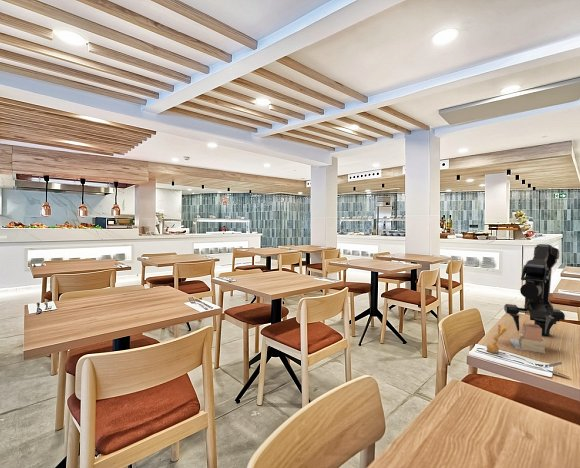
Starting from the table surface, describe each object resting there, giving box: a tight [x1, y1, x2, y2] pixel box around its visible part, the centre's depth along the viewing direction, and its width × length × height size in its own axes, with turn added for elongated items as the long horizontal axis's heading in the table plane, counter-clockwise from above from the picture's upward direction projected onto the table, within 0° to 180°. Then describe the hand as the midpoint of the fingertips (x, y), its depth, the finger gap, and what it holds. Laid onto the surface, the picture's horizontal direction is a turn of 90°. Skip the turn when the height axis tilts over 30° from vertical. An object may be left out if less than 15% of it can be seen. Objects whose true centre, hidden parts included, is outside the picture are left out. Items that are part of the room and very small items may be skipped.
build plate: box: [508, 338, 547, 354], centre depth 131 cm, size 12×10×1 cm
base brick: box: [518, 333, 546, 353], centre depth 129 cm, size 7×7×4 cm
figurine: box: [486, 323, 507, 354], centre depth 123 cm, size 8×6×12 cm
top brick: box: [521, 322, 543, 341], centre depth 128 cm, size 5×5×5 cm
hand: (531, 332), depth 128 cm, fingers open, 9 cm apart
